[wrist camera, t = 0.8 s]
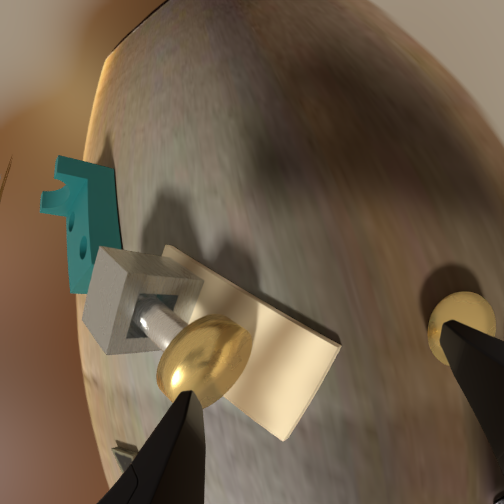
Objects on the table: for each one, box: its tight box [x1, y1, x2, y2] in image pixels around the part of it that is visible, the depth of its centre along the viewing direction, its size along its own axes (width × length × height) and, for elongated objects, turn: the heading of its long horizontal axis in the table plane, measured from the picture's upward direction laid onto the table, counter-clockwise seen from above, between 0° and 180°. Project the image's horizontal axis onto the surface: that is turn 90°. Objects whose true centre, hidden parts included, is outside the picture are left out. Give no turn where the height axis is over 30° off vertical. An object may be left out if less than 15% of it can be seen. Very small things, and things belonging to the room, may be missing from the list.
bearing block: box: [82, 246, 204, 355], centre depth 28 cm, size 6×8×9 cm
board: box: [162, 245, 341, 441], centre depth 29 cm, size 22×10×1 cm, turn 63°
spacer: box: [428, 292, 496, 366], centre depth 17 cm, size 5×5×2 cm
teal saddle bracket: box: [40, 155, 122, 294], centre depth 42 cm, size 18×11×10 cm, turn 21°
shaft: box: [131, 293, 252, 409], centre depth 26 cm, size 17×8×8 cm, turn 63°
